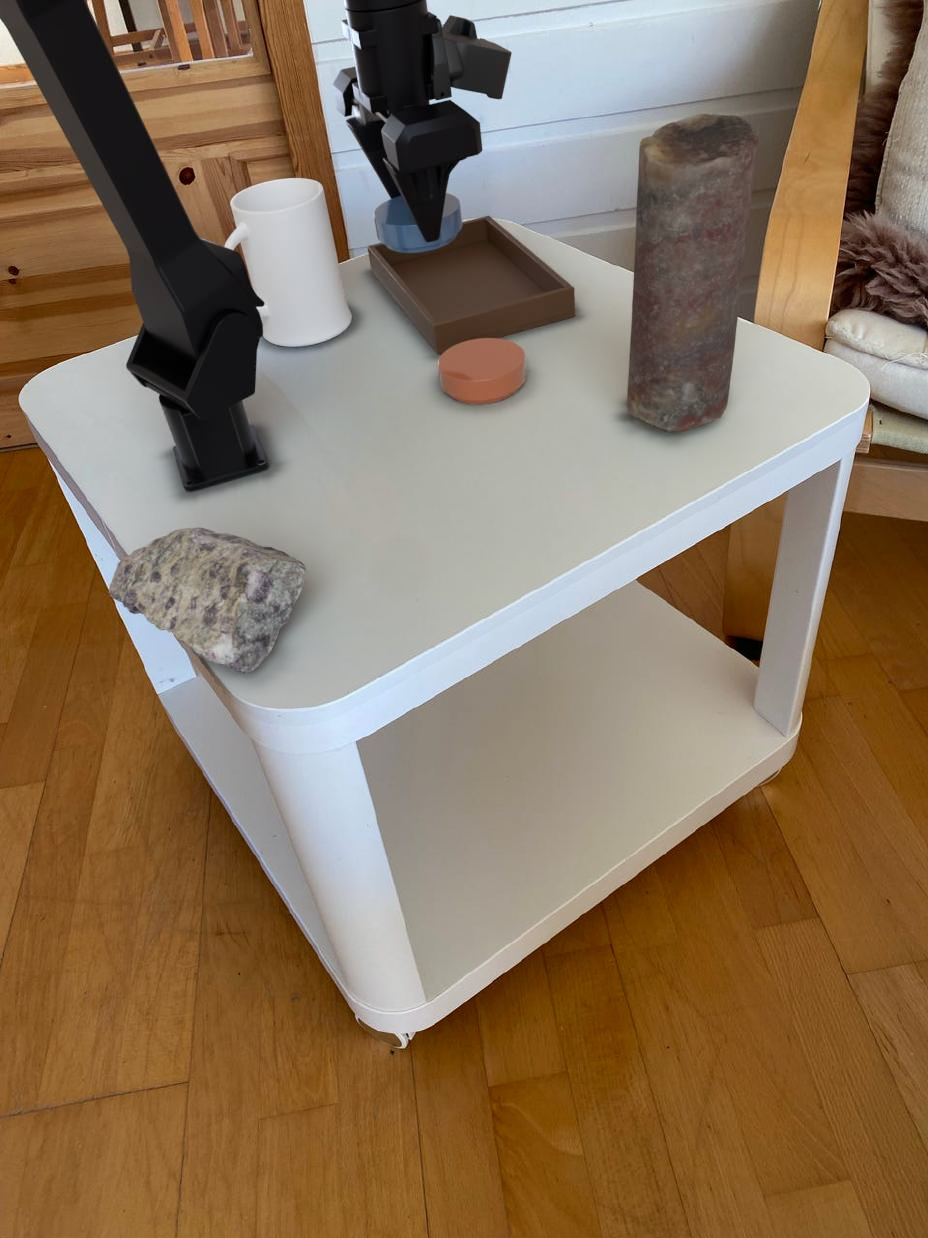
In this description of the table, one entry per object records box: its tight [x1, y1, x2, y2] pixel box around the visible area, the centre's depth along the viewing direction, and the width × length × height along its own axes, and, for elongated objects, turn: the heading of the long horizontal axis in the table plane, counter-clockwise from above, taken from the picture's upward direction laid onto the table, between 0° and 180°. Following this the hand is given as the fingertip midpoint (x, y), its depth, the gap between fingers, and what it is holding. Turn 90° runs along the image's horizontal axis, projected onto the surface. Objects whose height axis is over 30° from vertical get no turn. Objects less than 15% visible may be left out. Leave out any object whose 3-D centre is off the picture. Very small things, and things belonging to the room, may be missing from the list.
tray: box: [366, 215, 576, 356], centre depth 89 cm, size 20×13×3 cm, turn 21°
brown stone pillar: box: [626, 113, 760, 433], centre depth 64 cm, size 8×7×20 cm
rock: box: [108, 527, 307, 674], centre depth 58 cm, size 13×6×10 cm
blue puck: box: [373, 192, 463, 253], centre depth 77 cm, size 7×7×2 cm
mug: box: [223, 177, 353, 348], centre depth 84 cm, size 12×8×12 cm
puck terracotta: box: [437, 338, 527, 405], centre depth 77 cm, size 7×7×2 cm
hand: (418, 225), depth 77 cm, fingers closed on blue puck, 7 cm apart
